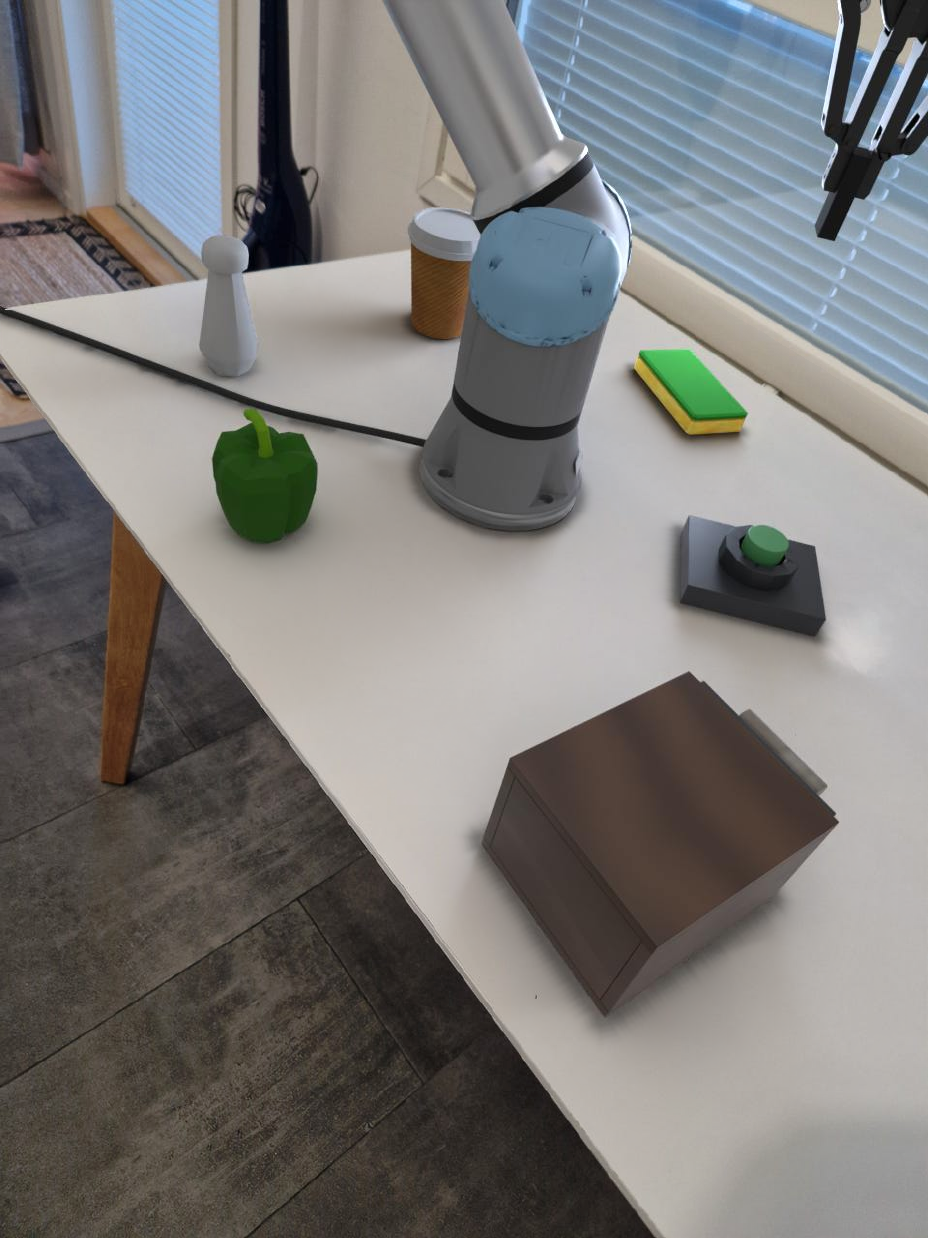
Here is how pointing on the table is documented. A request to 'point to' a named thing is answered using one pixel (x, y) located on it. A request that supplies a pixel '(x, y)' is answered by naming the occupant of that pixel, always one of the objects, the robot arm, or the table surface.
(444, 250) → the disposable coffee cup
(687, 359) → the dish sponge
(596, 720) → the cabinet
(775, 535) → the button
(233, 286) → the salt shaker
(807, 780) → the drawer
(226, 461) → the bell pepper
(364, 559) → the table surface
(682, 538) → the control block
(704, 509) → the table surface
